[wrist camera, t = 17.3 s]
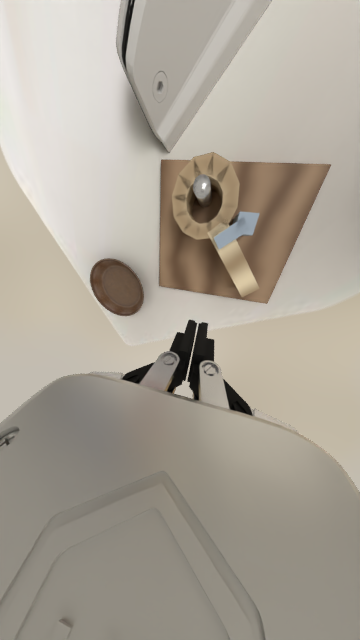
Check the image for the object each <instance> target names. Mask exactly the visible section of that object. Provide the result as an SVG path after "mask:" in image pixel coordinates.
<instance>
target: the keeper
mask: <svg viewBox="0 0 360 640" xmlns="http://www.w3.org/2000/svg"><path fill="white" fill-rule="evenodd" d="M258 217H259V213H252V212H239V213H238V214H237V215H236V217H235V218H234V220H233V224H232V225H231V226H230V227H228V228H227V229H225V230H224V231H223V232H221V233H220V234H218V235H217V236H215V237H214V240H215V242H216V244H217V246H218V248H219V249H221V248H222V247H224V246H226V245H227V244H229V243H230V242H232V241H233V240H235V239H237V238H238V237H240V236H250V235H253V233H254V229H255V226H256V223H257V220H258Z"/></svg>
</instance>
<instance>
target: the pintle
mask: <svg viewBox="0 0 360 640" xmlns="http://www.w3.org/2000/svg"><path fill="white" fill-rule="evenodd" d="M193 191H194V193H195V195H196V197H197V199H198V202H199V204H200V205H201V206H202V207H207V206H209V205H210V203H211V201H212V194H211V185H210V179H209V177H208V176H207V175H205V174H201V175H199V176H197V178H196V179H195V181H194V184H193Z"/></svg>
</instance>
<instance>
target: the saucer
mask: <svg viewBox="0 0 360 640" xmlns="http://www.w3.org/2000/svg"><path fill="white" fill-rule="evenodd" d="M90 283H91V287H92V290H93V293H94V295H95V296H96V298H97V300H98V301H99V302H100V303H101V304H102V305H103V306H104V307H105V308H106V309H107V310H109V311H110V312H112V313H114V314H117V315H120V316H130V315H133V314H135V313H136V312H138V311H139V310H140V308H141V306H142V304H143V299H144V294H143V288H142V285H141V282H140V280H139V278H138V277H137V275H136V274H135V273H134V271H133V270H132V269H131V268H130V267H129V266H127V265H126V264H124V263H123V262H121V261H118V260H116V259H102V260H100V261H98V262H97V263H96V264H95V265H94V266H93V268H92V270H91V274H90Z"/></svg>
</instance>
